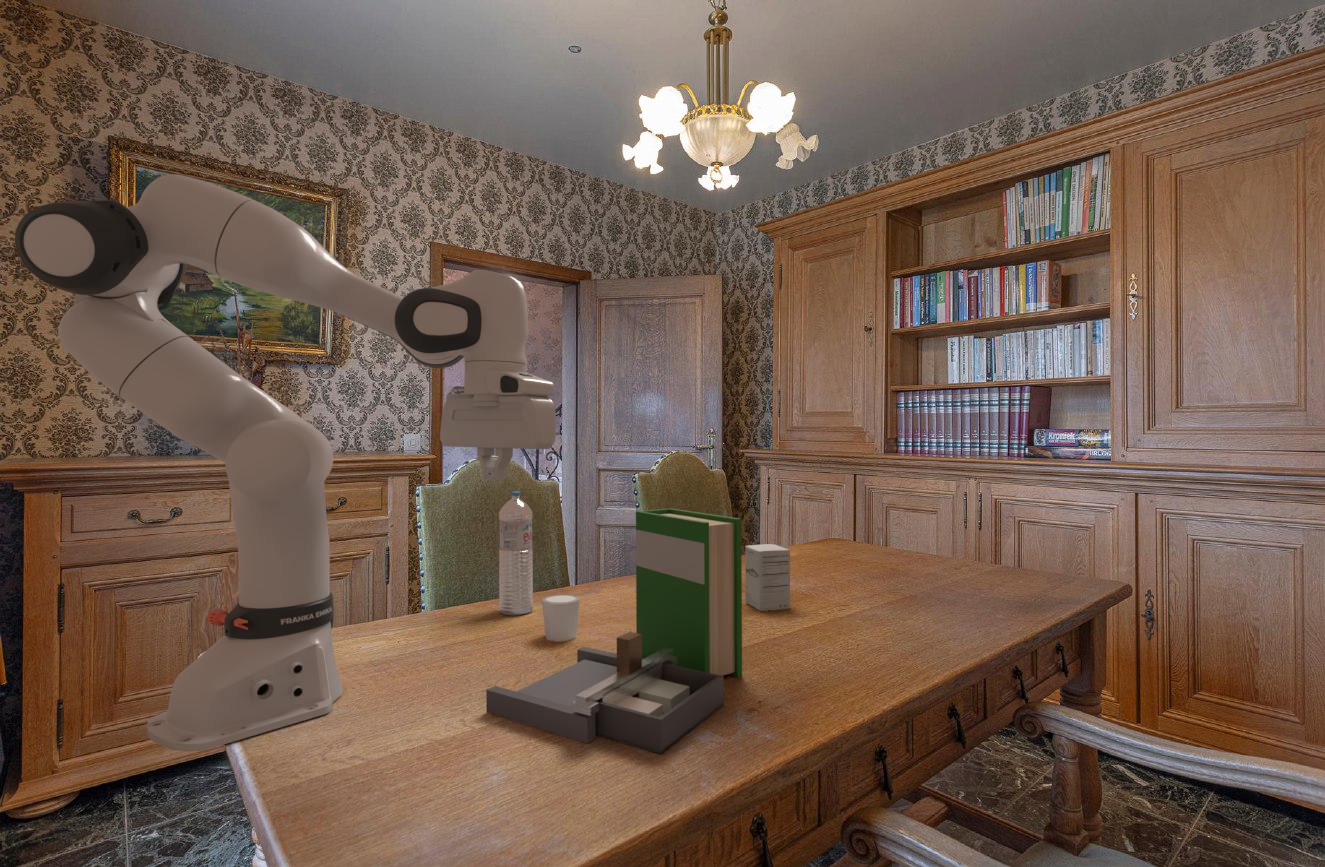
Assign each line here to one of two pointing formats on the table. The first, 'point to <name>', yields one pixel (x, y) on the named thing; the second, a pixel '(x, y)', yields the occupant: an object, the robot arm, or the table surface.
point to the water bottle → (515, 557)
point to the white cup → (560, 617)
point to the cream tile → (642, 706)
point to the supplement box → (767, 577)
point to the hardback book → (690, 588)
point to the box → (670, 725)
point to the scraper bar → (625, 675)
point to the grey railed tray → (556, 697)
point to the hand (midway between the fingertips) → (494, 479)
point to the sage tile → (665, 693)
